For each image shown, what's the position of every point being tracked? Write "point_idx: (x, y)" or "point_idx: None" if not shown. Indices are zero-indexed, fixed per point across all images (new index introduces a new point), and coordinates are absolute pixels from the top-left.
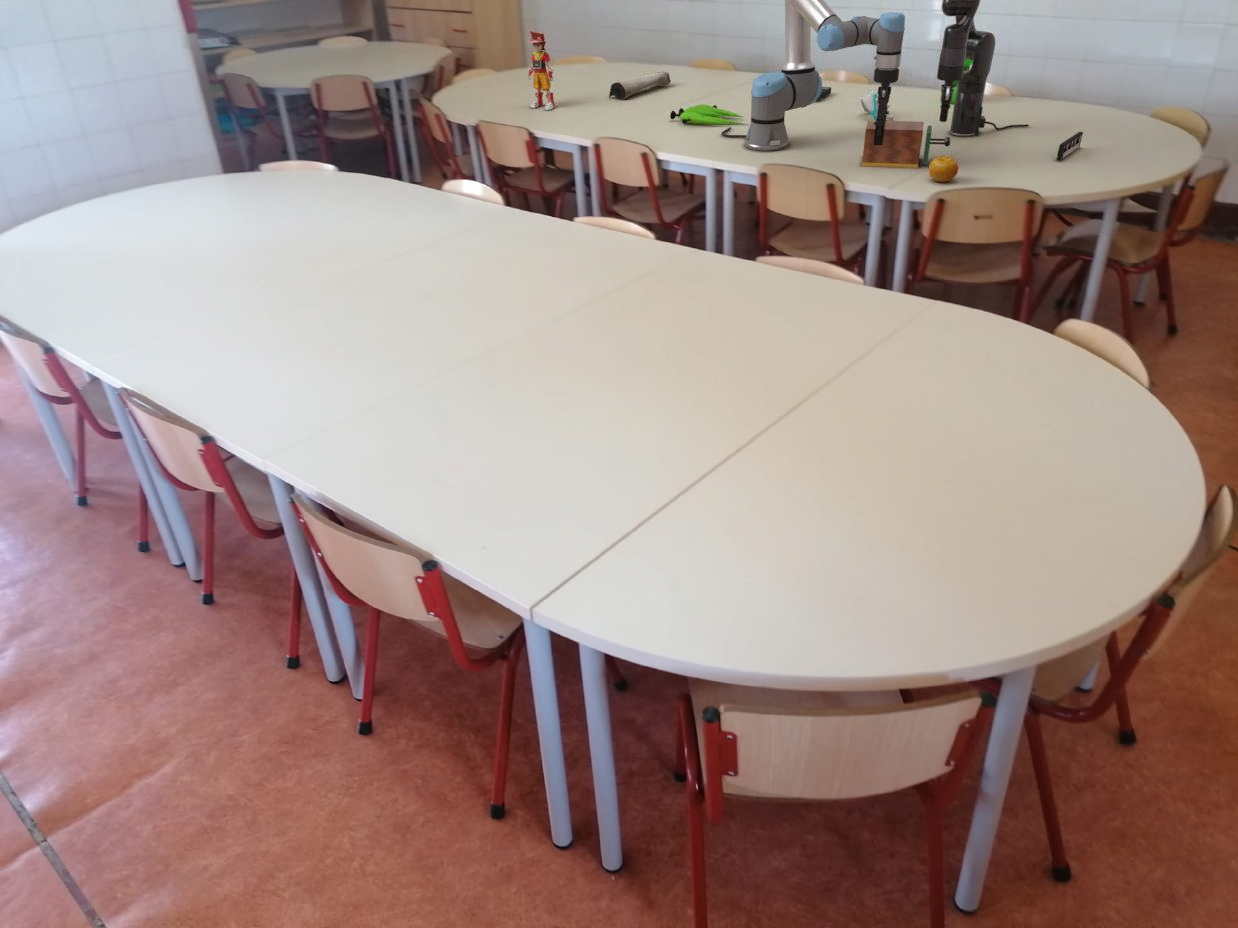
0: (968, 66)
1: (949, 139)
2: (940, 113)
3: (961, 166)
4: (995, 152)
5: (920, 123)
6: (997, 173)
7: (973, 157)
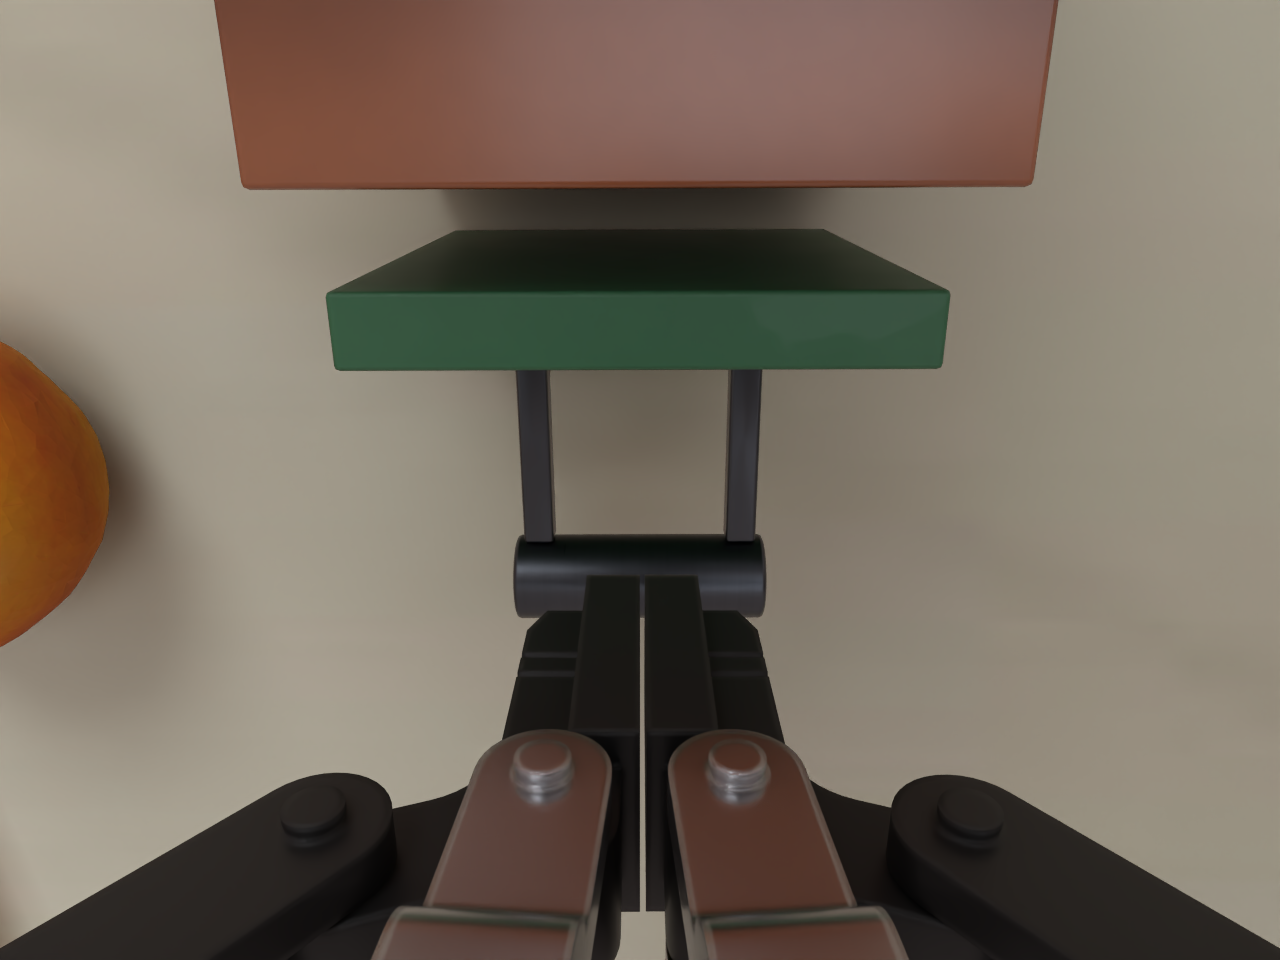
0: None
1: None
2: (619, 659)
3: None
4: None
5: (870, 108)
6: None
7: (905, 739)
